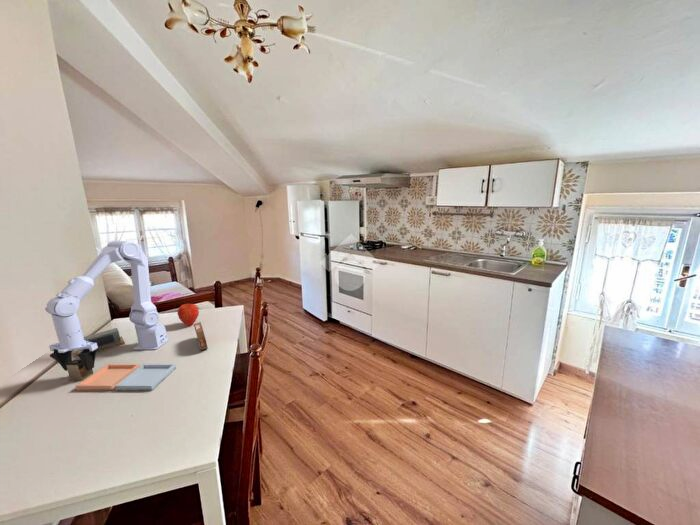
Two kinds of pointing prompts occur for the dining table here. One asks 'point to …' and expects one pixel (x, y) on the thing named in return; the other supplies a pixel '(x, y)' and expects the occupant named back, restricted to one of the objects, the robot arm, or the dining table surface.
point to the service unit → (105, 339)
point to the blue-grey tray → (146, 377)
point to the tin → (200, 336)
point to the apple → (188, 314)
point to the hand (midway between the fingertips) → (79, 368)
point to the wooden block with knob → (78, 370)
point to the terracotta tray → (107, 377)
